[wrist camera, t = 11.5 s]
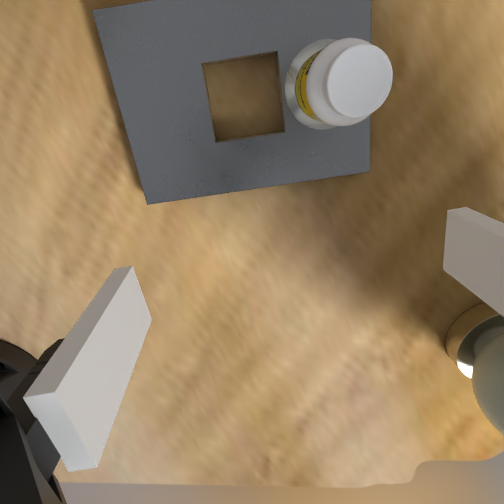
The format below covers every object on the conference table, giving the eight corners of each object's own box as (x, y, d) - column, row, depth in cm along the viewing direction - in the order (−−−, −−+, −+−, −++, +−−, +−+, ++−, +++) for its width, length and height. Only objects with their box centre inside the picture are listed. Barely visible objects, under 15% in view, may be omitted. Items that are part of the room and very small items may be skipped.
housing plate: (151, 199, 34) (146, 205, 33) (100, 15, 28) (90, 9, 26) (363, 168, 34) (371, 172, 32) (363, -29, 27) (372, -39, 25)
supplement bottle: (304, 42, 27) (335, 13, 18) (365, 62, 28) (423, 44, 19) (284, 111, 29) (303, 116, 20) (341, 128, 30) (383, 140, 21)
